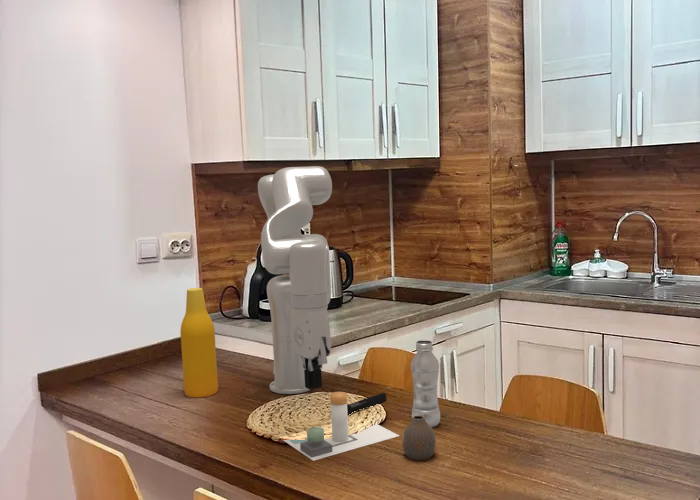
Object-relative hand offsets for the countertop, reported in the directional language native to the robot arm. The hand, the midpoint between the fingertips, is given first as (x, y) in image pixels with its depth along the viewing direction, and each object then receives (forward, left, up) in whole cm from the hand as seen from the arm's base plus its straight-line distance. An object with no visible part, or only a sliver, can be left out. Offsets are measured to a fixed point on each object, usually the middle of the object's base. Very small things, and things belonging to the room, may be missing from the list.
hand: (313, 387), depth 148 cm
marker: (-3, +8, -14) cm, 16 cm away
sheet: (-4, +8, -15) cm, 17 cm away
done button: (0, 0, -11) cm, 11 cm away
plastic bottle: (+2, +28, -15) cm, 32 cm away
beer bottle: (-56, -5, -15) cm, 58 cm away
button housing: (0, 0, -14) cm, 14 cm away
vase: (+15, +16, -15) cm, 26 cm away
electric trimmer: (-17, +23, -15) cm, 32 cm away
